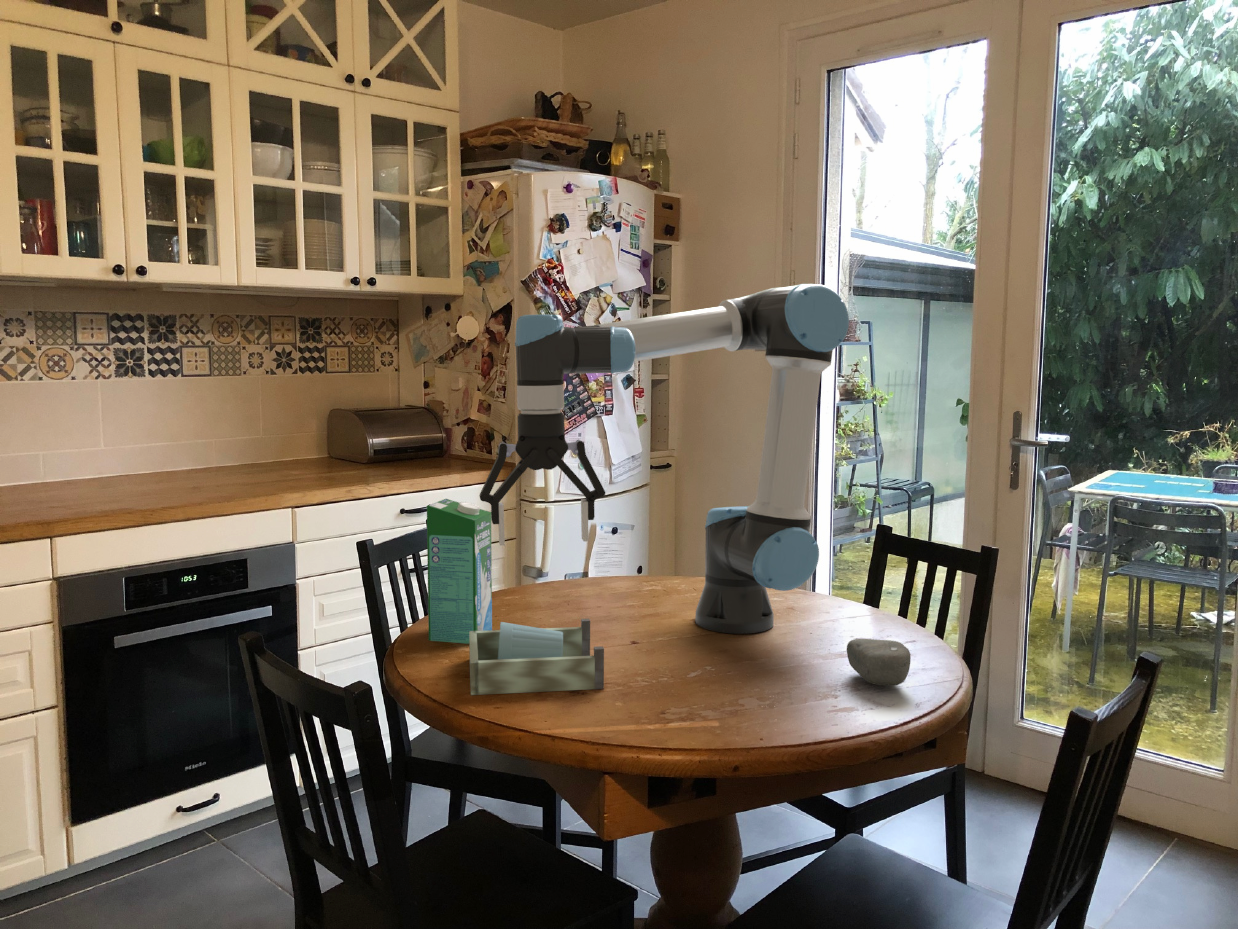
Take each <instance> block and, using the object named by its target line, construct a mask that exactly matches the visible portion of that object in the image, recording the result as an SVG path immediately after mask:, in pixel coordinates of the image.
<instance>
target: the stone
mask: <svg viewBox="0 0 1238 929" xmlns="http://www.w3.org/2000/svg"><path fill="white" fill-rule="evenodd" d="M846 655H847V656H846V657H847V659H848V663H849V665H850V667H851V668H852V669H853V671H855V672H856V673H857V674H858V675H859V676H860V677H861V678H862V679H863V680H865V681H866V682H867V683H869V684H871V685H876V686H890V687H891V686H899V685H901V684H903V683H904V682H905V681H906V679H907V676H908V674H909V671H910V667H911V652H910V650H909V648H908V647H906V646H905V645H904V644H903V643H902V642H899V641H896V640H889V639H887V640H886V639H876V638H875V639H874V638H873V639H871V638H854V639H851V640H850V641H848V643H847V644H846Z"/></svg>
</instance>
